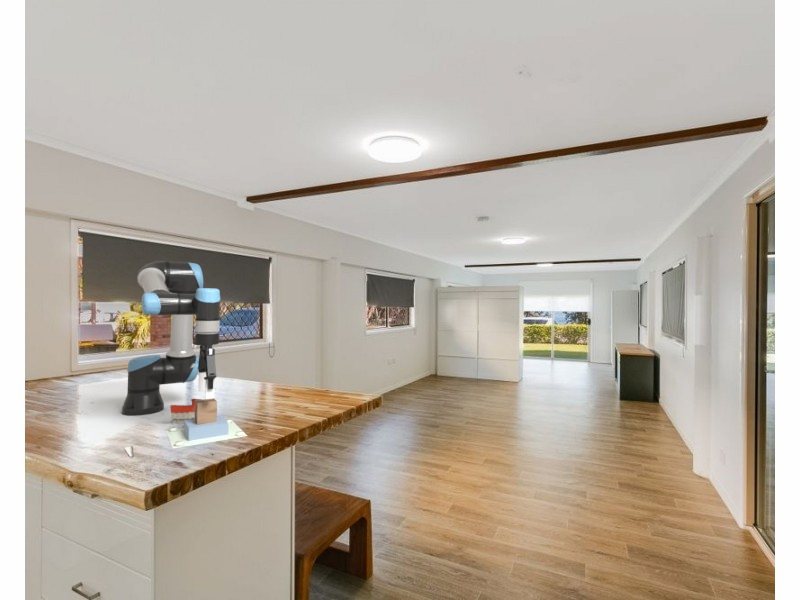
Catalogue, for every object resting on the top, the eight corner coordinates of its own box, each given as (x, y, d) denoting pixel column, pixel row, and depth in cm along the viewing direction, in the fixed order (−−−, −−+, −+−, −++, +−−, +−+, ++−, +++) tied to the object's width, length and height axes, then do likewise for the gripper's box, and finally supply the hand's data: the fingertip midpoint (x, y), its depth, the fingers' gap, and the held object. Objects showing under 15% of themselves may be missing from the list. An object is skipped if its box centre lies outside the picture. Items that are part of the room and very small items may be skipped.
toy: (193, 429, 147) (193, 407, 148) (168, 427, 149) (169, 405, 150) (215, 420, 160) (215, 399, 160) (192, 418, 162) (192, 398, 162)
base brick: (183, 431, 140) (184, 420, 140) (221, 426, 147) (221, 415, 147) (188, 441, 130) (188, 428, 130) (228, 434, 137) (228, 422, 137)
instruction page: (124, 448, 127) (124, 447, 127) (149, 443, 131) (149, 442, 131) (130, 457, 119) (130, 456, 119) (157, 451, 124) (157, 450, 124)
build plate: (165, 433, 141) (166, 427, 142) (232, 424, 154) (232, 418, 154) (172, 452, 123) (172, 445, 123) (247, 439, 136) (247, 432, 136)
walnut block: (194, 420, 140) (194, 400, 140) (213, 418, 143) (213, 398, 143) (197, 424, 135) (197, 403, 135) (216, 422, 138) (217, 401, 138)
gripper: (190, 330, 148) (188, 389, 147) (201, 336, 127) (200, 403, 127) (212, 330, 152) (211, 386, 152) (226, 335, 131) (225, 400, 131)
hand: (206, 394), depth 139 cm, fingers open, 13 cm apart
